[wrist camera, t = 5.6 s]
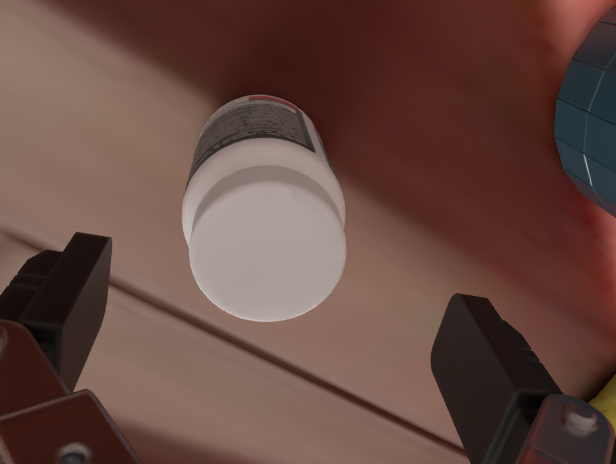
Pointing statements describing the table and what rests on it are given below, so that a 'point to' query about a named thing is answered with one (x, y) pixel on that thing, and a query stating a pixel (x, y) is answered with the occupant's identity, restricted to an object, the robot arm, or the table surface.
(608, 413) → the dish towel
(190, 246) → the pill bottle
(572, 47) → the table surface
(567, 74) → the bowl
